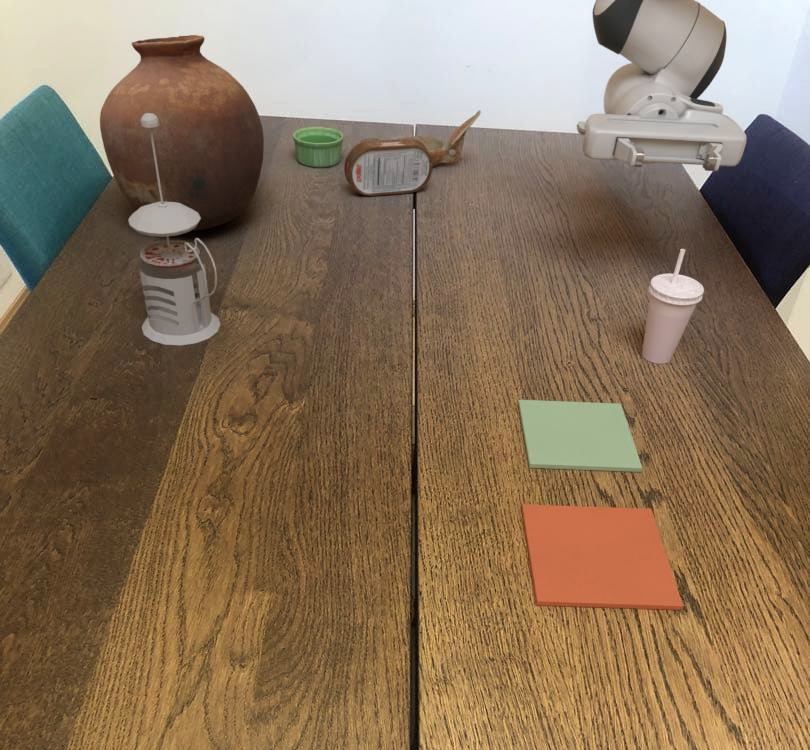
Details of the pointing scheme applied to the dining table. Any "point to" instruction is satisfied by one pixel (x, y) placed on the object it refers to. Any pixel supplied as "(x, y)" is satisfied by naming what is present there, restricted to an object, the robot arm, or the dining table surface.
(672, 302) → the smoothie
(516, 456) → the dining table surface
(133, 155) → the pottery
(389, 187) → the tin
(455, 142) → the oil lamp
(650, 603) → the terracotta mat
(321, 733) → the dining table surface
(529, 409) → the sage mat
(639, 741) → the dining table surface
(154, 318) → the french press
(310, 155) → the ramekin
